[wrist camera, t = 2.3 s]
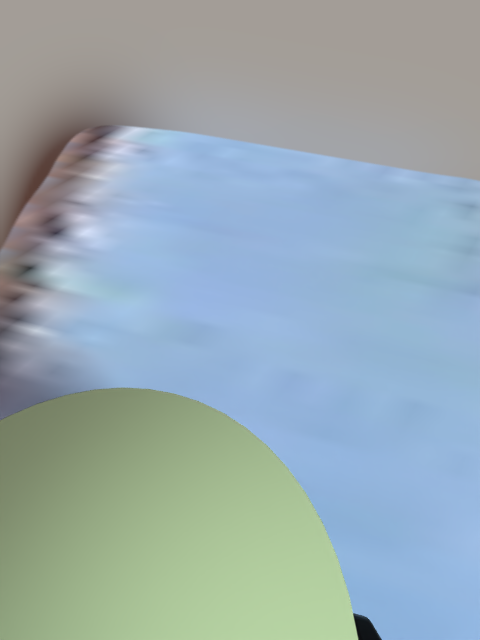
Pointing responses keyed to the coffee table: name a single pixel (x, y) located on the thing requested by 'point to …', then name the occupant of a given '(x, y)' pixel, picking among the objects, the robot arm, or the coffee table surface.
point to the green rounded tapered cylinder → (157, 527)
